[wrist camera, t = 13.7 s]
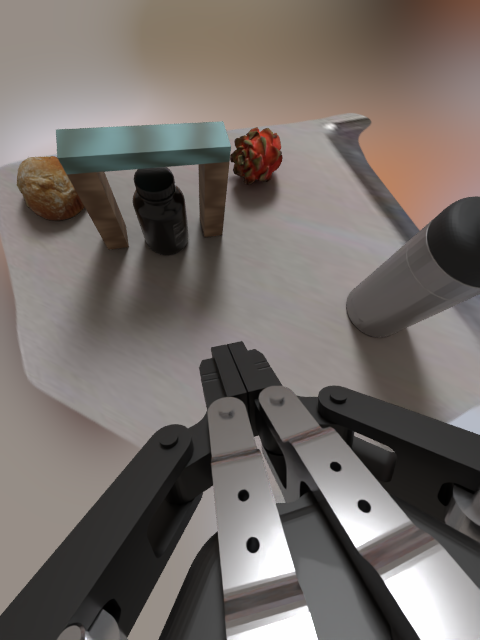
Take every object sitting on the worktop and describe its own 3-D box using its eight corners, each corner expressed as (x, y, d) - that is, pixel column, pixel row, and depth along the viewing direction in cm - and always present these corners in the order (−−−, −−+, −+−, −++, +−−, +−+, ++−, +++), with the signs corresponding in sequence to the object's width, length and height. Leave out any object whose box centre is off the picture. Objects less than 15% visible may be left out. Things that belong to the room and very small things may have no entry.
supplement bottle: (178, 216, 46) (170, 151, 35) (195, 248, 45) (192, 190, 34) (138, 228, 45) (117, 164, 34) (154, 262, 43) (137, 206, 32)
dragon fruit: (234, 201, 51) (257, 168, 57) (276, 193, 46) (297, 158, 52) (213, 153, 45) (241, 122, 51) (259, 139, 41) (284, 106, 46)
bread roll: (37, 202, 48) (-13, 178, 40) (74, 156, 47) (30, 122, 39) (72, 239, 47) (27, 221, 39) (110, 192, 46) (72, 164, 38)
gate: (217, 215, 47) (223, 121, 33) (222, 234, 46) (230, 146, 31) (106, 228, 44) (56, 129, 29) (108, 249, 43) (57, 158, 28)
